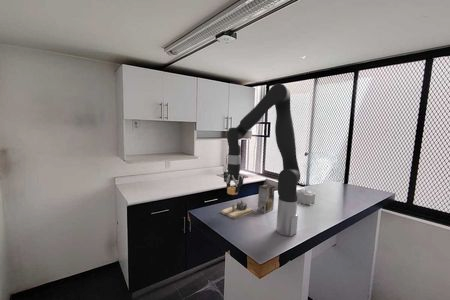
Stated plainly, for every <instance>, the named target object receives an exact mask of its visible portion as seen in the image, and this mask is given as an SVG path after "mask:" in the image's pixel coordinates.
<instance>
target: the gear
mask: <svg viewBox="0 0 450 300" xmlns="http://www.w3.org/2000/svg"><path fill="white" fill-rule="evenodd" d="M235 188H236V186H230V187H228V188H226V190H227V191H226V193H227V195H232V196H235V195H238V194H239V192H238V193H235Z"/></svg>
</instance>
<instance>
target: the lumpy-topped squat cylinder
mask: <svg viewBox="0 0 450 300" xmlns="http://www.w3.org/2000/svg"><path fill="white" fill-rule="evenodd" d="M296 194H297V196H298V198H297V201H298V202H297V203H299V202H300V203H299V204H302V203H303V204H302V205H305V204H308V205H307V206H311V205H310V204H312V203H314V204H315V199H316V193H315V192H314V191H311V190H310V189H305V188H301V189H296ZM312 205H313V204H312Z"/></svg>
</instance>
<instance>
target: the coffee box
mask: <svg viewBox="0 0 450 300" xmlns="http://www.w3.org/2000/svg"><path fill="white" fill-rule="evenodd" d="M257 197H258V199H257V211H258V212H262V213H263V214H267V213H269V212H271V211H273V210H274V206H275V205H274V201H275V185H273V184H270V183H269V184H268V183H265V184H262V185H259V186H258V196H257Z"/></svg>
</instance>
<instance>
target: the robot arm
mask: <svg viewBox="0 0 450 300" xmlns="http://www.w3.org/2000/svg"><path fill="white" fill-rule="evenodd" d="M274 106H275V111H276V112H275V113H276V114H275V115H276V117H275V125H274V126H275V127H274V132H275V134H274V135H275V141H276V145H277V148H278V149H277V150H278V152H279V154H280V156H281V159H282V170H280V172H279V174H278V178H277V195H278V196H277V197H278V199H277V211H276V212H277V216H276V230H275V231H276V232H277V233H278V234H280V235H282V236H287V237H292V236H294V235H295V234H297V233H298V232H297V230H298V218H299V216H298V214H297V210H298V202H297V198H298V196H297V194H296V190H298V189H297V188H298V187H297V185H298V183H299V182H300V180H301V172H300V168H299V163H298V158H297V146H296V145H297V144H296V137H295V135H296V134H295V129H294V122H293V117H292V111H291V92H290V89H289V88H288V87H287V86H286V85H285V84H283V83H275V84H273V85H272V86H271V87H270V88H269V89H268V90H267V92H266V93H265V95H264V96H263V97H262V99H261V100H259V102H258V103H257V104H256V105H255V106H254V107H253V108H252V109H251V110H250V111H249V112H248V113H247V114H246V115H245V116H244V117H243V118H242V119H241V120H240V121H239V124H238V126H236V127H230V128H228V130H227V133H226V139H227V145H228V146H227V147H228V154H227V165H226V166H227V167H226V170H227V171H223V182H224V183H225V184H226V189H227V188H228V187H231V182H232V181H233V184H235V187H236V188H235V193H238V194H239V193H240V188H241V187H242V186H243V184H244V180H245V179H244V178H245V176H244V175H240V172H241V162H242V158H241V153H242V151H241V150H242V148H241V145H240V143H239V140H241V139H243V138H244V137H245V136H246V135H247V133H248V132H249V131H250V130H251V129H253V127H255V126H256V125H257V124H258V123H259V121H260V120H261V119H262V118H263V117H264V116H265V114H266V112H268V111H269V110H270V109H271V108H272V107H274Z"/></svg>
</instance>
